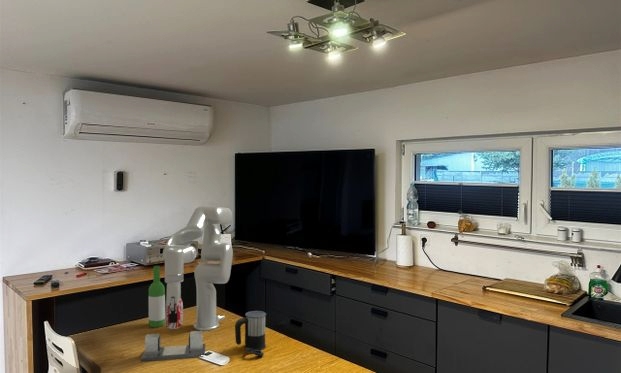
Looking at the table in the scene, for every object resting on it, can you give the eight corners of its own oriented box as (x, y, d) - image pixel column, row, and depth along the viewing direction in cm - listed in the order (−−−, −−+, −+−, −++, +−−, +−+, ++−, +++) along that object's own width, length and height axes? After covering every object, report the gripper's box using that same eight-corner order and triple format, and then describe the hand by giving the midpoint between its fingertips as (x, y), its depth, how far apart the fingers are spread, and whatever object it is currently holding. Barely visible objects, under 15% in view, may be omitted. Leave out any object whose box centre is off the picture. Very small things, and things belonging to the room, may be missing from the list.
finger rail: (205, 347, 188) (205, 328, 188) (204, 356, 178) (204, 336, 178) (145, 351, 183) (145, 332, 182) (141, 361, 173) (141, 341, 173)
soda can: (177, 330, 176) (177, 301, 175) (162, 329, 177) (162, 300, 177) (185, 324, 183) (185, 297, 182) (170, 323, 184) (170, 296, 184)
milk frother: (257, 341, 195) (257, 309, 195) (279, 351, 184) (279, 317, 183) (231, 349, 185) (231, 316, 185) (253, 361, 174) (253, 325, 173)
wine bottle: (154, 322, 219) (153, 264, 218) (168, 323, 218) (167, 265, 217) (145, 327, 212) (145, 267, 211) (159, 328, 210) (159, 268, 209)
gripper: (167, 273, 187) (167, 313, 188) (162, 283, 170) (162, 327, 171) (185, 272, 189) (185, 312, 189) (181, 282, 172) (181, 326, 172)
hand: (174, 319), depth 180 cm, fingers closed on soda can, 7 cm apart
